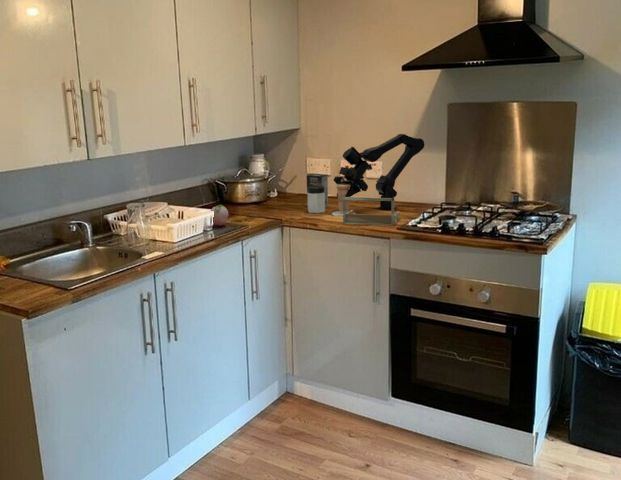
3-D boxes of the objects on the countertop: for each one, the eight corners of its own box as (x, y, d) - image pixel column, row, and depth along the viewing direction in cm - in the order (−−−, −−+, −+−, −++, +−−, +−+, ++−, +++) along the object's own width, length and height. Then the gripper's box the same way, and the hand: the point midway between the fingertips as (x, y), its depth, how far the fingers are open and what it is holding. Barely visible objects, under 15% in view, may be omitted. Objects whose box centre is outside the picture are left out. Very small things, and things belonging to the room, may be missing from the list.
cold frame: (352, 217, 289) (351, 191, 286) (400, 219, 282) (400, 192, 280) (343, 224, 275) (342, 197, 272) (393, 226, 268) (393, 198, 265)
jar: (313, 214, 301) (312, 188, 298) (304, 211, 307) (303, 187, 305) (329, 211, 305) (328, 186, 303) (319, 209, 312) (318, 185, 309)
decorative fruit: (210, 224, 283) (209, 202, 281) (229, 223, 284) (228, 201, 282) (209, 228, 274) (207, 206, 272) (228, 228, 275) (227, 205, 273)
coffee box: (306, 207, 319) (305, 175, 316) (313, 205, 324) (312, 173, 321) (322, 208, 314) (321, 176, 311) (328, 206, 320) (328, 174, 316)
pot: (349, 208, 300) (348, 183, 297) (351, 210, 294) (350, 185, 291) (336, 209, 300) (335, 183, 297) (338, 211, 294) (337, 185, 291)
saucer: (344, 211, 305) (344, 210, 305) (360, 214, 297) (360, 212, 296) (327, 214, 298) (326, 213, 298) (342, 217, 290) (342, 216, 290)
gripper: (335, 159, 301) (318, 185, 297) (363, 161, 287) (345, 189, 283) (348, 174, 308) (331, 199, 304) (375, 177, 294) (358, 204, 289)
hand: (341, 197), depth 295 cm, fingers closed on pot, 5 cm apart
